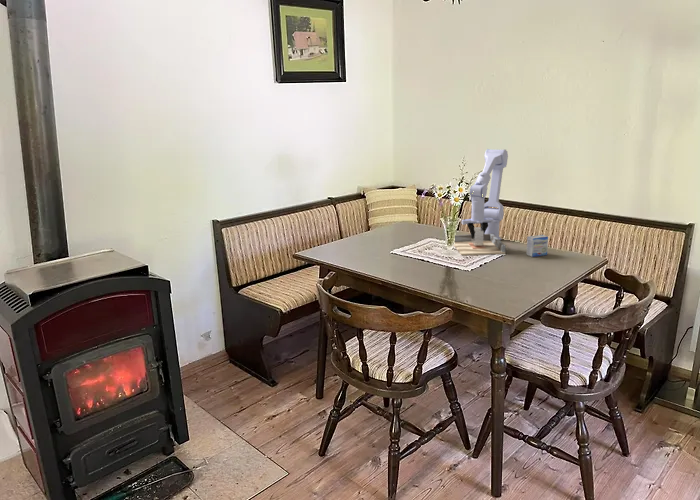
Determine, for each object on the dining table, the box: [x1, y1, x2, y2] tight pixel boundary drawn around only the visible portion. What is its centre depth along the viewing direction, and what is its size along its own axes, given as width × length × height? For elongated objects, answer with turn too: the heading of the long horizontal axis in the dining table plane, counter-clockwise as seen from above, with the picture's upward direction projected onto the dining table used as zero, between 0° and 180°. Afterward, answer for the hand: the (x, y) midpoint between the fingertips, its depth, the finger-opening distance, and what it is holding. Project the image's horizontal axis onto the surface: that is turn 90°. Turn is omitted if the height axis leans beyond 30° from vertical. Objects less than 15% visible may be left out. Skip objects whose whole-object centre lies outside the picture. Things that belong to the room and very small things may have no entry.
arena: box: [453, 233, 507, 256], centre depth 256 cm, size 22×20×4 cm
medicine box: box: [526, 234, 549, 258], centre depth 241 cm, size 8×4×9 cm, turn 105°
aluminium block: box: [471, 226, 484, 246], centre depth 256 cm, size 4×7×7 cm, turn 1°
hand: (477, 238), depth 256 cm, fingers closed on aluminium block, 4 cm apart
